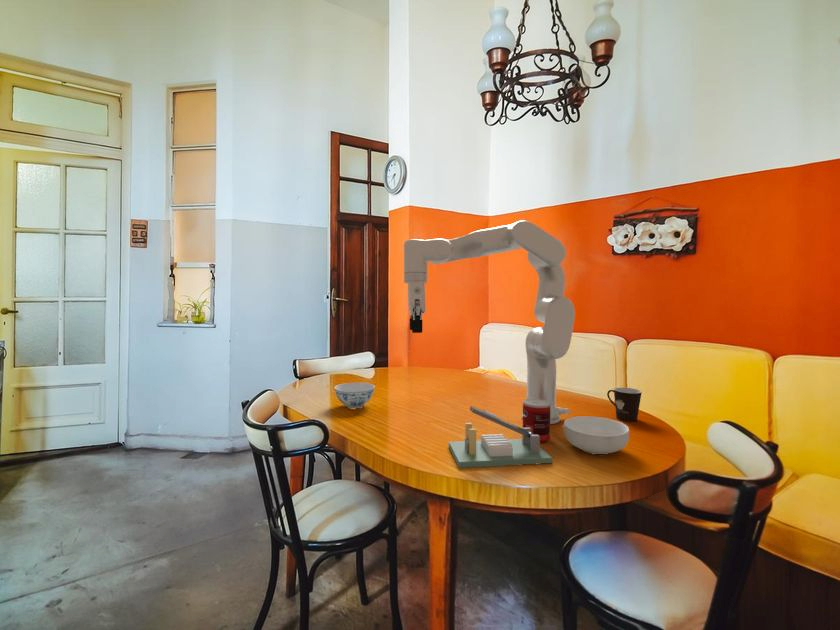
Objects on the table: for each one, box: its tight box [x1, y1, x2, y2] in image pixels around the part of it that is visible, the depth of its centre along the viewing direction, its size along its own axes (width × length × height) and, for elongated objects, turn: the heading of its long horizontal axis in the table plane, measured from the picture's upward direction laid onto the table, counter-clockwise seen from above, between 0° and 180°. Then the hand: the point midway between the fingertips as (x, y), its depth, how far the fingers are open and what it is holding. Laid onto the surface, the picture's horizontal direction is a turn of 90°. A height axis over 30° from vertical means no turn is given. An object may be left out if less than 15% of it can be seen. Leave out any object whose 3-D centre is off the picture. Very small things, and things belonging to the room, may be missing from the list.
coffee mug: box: [606, 387, 642, 423], centre depth 144 cm, size 12×9×10 cm
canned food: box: [522, 398, 551, 443], centre depth 123 cm, size 8×8×11 cm
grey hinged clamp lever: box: [469, 405, 534, 438], centre depth 110 cm, size 19×4×2 cm, turn 98°
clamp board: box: [448, 422, 553, 469], centre depth 110 cm, size 24×14×8 cm, turn 96°
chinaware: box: [334, 382, 376, 409], centre depth 156 cm, size 15×15×8 cm
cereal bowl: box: [563, 415, 630, 455], centre depth 114 cm, size 17×17×7 cm
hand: (415, 331), depth 134 cm, fingers open, 9 cm apart
